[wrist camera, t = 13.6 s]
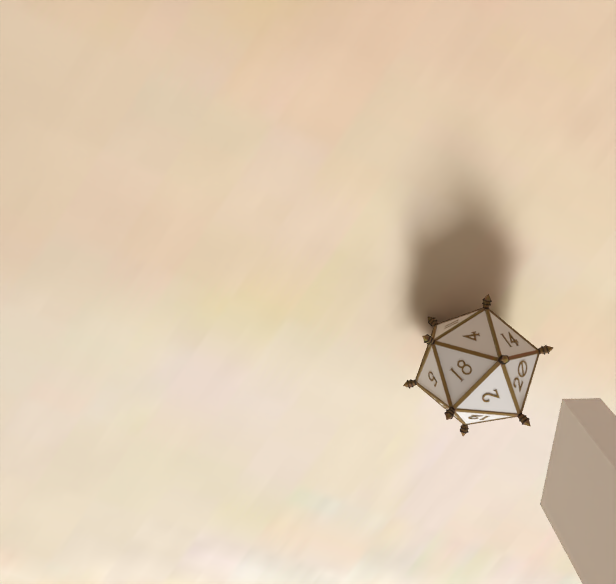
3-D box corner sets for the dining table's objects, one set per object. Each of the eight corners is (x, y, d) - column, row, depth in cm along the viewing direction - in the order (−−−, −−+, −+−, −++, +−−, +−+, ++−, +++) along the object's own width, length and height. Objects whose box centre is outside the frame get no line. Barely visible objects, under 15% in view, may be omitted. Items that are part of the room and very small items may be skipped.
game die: (441, 294, 44) (493, 256, 34) (528, 366, 43) (607, 348, 33) (369, 382, 42) (403, 369, 32) (460, 460, 41) (523, 470, 31)
